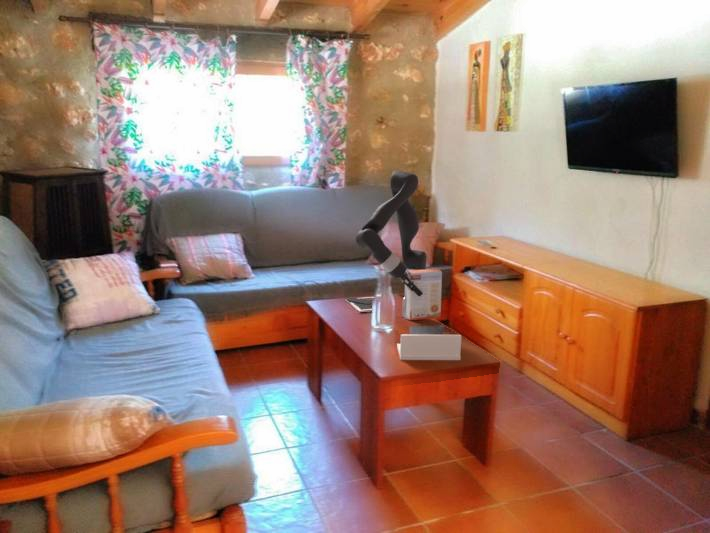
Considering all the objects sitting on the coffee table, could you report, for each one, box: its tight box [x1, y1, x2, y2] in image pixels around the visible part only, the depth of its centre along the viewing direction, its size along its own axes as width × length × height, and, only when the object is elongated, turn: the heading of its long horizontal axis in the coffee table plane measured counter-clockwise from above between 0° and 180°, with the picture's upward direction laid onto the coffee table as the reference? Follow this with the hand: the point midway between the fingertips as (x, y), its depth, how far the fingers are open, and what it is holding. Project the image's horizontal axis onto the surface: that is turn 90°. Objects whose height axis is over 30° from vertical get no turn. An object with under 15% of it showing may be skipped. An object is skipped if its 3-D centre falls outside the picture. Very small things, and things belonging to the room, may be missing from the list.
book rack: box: [396, 333, 462, 361], centre depth 239 cm, size 14×24×10 cm, turn 92°
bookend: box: [409, 324, 445, 335], centre depth 244 cm, size 2×14×8 cm, turn 92°
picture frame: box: [344, 296, 375, 312], centre depth 301 cm, size 16×3×21 cm
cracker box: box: [406, 268, 443, 321], centre depth 250 cm, size 14×6×21 cm, turn 102°
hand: (419, 292), depth 249 cm, fingers closed on cracker box, 6 cm apart
